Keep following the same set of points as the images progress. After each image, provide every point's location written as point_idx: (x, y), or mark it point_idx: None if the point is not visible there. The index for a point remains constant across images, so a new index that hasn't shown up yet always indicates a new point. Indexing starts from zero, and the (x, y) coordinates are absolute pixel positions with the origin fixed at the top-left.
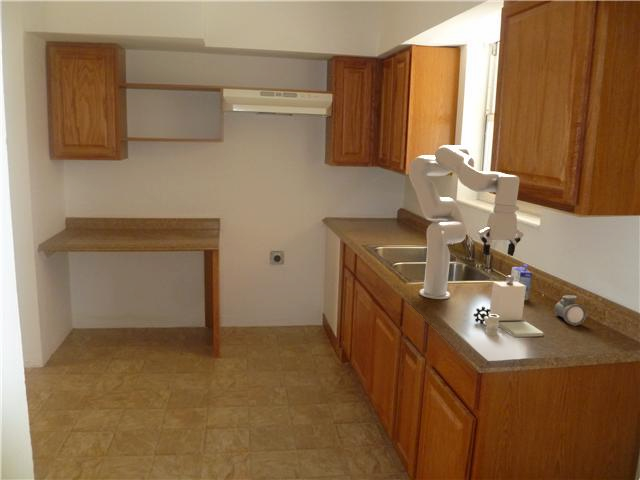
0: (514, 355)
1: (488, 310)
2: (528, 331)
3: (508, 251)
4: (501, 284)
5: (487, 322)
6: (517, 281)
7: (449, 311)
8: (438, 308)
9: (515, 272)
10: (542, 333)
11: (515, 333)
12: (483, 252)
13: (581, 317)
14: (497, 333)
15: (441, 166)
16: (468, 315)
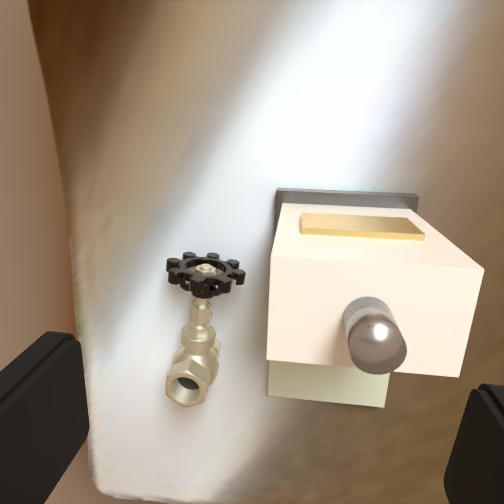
0: (184, 485)
1: (221, 290)
2: (332, 388)
3: (487, 438)
4: (295, 320)
5: (172, 364)
6: None
7: (136, 92)
8: (96, 41)
9: None
10: (378, 405)
11: (268, 394)
12: (44, 334)
13: None
14: (218, 359)
15: None
16: (204, 157)
